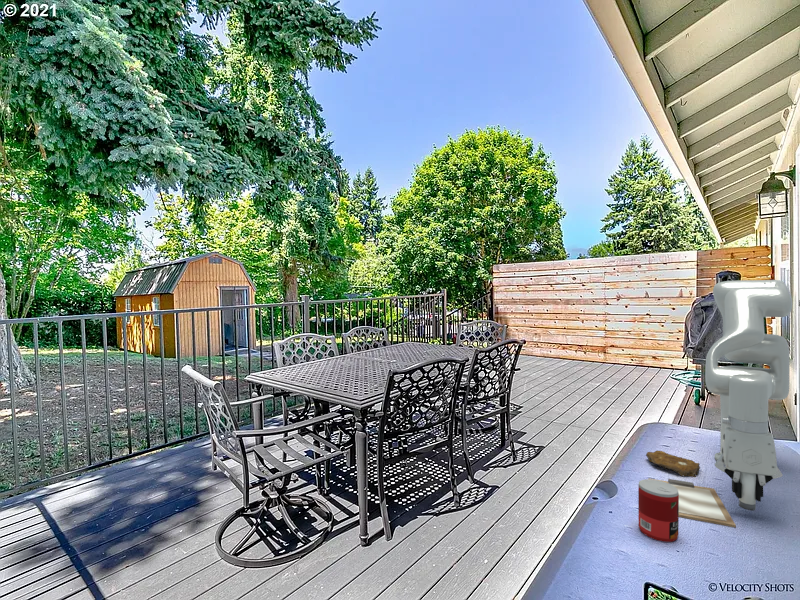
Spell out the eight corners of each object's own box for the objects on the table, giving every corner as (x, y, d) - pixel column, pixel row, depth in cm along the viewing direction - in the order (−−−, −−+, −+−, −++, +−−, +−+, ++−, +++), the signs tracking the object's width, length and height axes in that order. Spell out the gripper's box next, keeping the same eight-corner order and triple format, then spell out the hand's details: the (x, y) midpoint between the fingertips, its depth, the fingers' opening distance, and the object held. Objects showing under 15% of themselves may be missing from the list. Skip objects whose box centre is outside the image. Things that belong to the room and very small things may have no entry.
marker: (736, 502, 106) (736, 456, 105) (753, 505, 104) (753, 458, 104) (740, 509, 103) (741, 461, 102) (758, 512, 101) (758, 463, 101)
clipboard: (648, 480, 123) (648, 475, 123) (714, 490, 117) (714, 485, 116) (657, 512, 105) (657, 507, 105) (735, 527, 98) (735, 521, 98)
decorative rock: (637, 466, 135) (692, 484, 123) (638, 454, 134) (692, 471, 123) (651, 455, 142) (704, 471, 130) (651, 443, 141) (704, 458, 130)
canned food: (679, 546, 91) (679, 497, 91) (637, 535, 96) (637, 488, 95) (677, 529, 98) (678, 483, 98) (638, 520, 102) (638, 476, 102)
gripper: (711, 425, 103) (710, 498, 104) (797, 434, 96) (796, 512, 97) (704, 416, 110) (703, 484, 110) (784, 424, 103) (783, 496, 103)
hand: (747, 496), depth 103 cm, fingers closed on marker, 3 cm apart
